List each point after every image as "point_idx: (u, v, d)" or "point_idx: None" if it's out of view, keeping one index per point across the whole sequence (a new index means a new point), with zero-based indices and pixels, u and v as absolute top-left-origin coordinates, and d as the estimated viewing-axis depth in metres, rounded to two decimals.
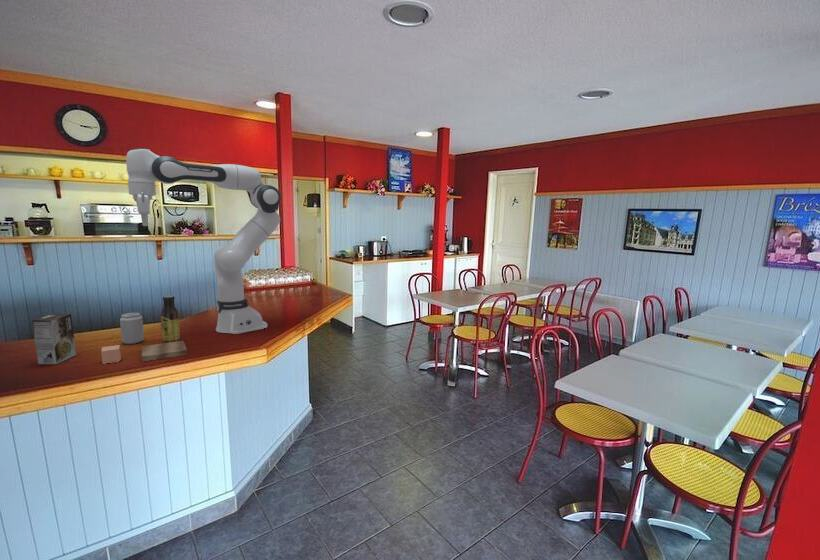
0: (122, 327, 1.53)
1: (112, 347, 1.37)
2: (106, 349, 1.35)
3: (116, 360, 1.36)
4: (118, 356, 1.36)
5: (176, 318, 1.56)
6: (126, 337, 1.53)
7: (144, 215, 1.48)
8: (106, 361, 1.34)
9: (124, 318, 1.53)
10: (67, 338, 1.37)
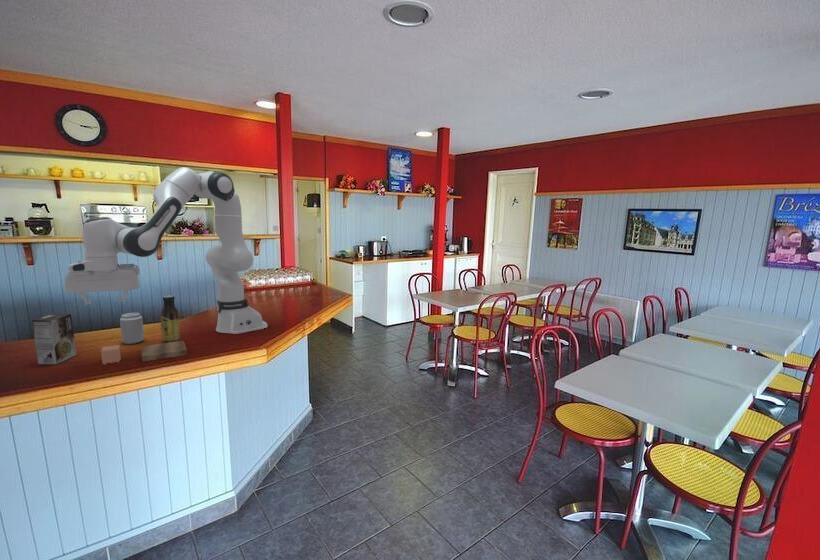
0: (122, 327, 1.53)
1: (112, 347, 1.37)
2: (106, 349, 1.35)
3: (116, 360, 1.36)
4: (118, 356, 1.36)
5: (176, 318, 1.56)
6: (126, 337, 1.53)
7: (127, 290, 1.37)
8: (106, 361, 1.34)
9: (124, 318, 1.53)
10: (67, 338, 1.37)
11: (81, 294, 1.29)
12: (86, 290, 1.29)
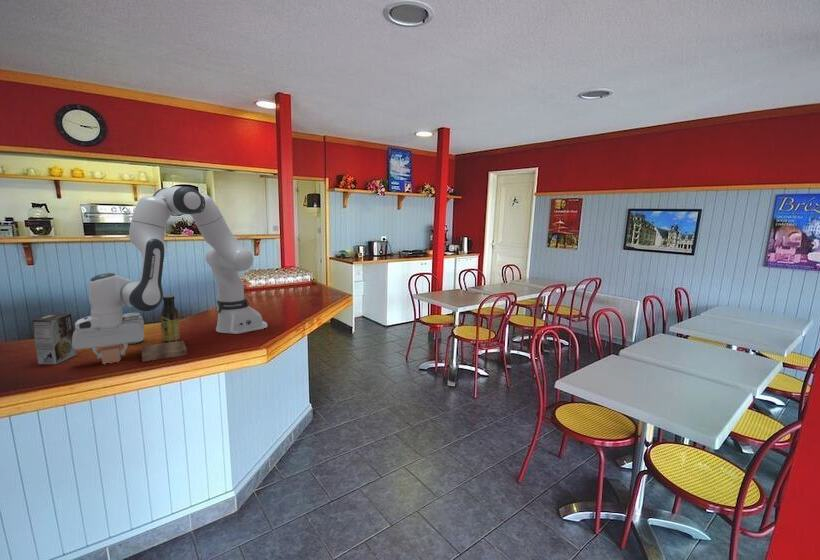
0: None
1: (112, 347, 1.37)
2: (106, 348, 1.35)
3: (116, 360, 1.36)
4: (118, 356, 1.36)
5: (176, 318, 1.56)
6: None
7: (127, 343, 1.39)
8: (106, 361, 1.34)
9: None
10: (67, 338, 1.37)
11: (93, 349, 1.33)
12: (93, 346, 1.32)
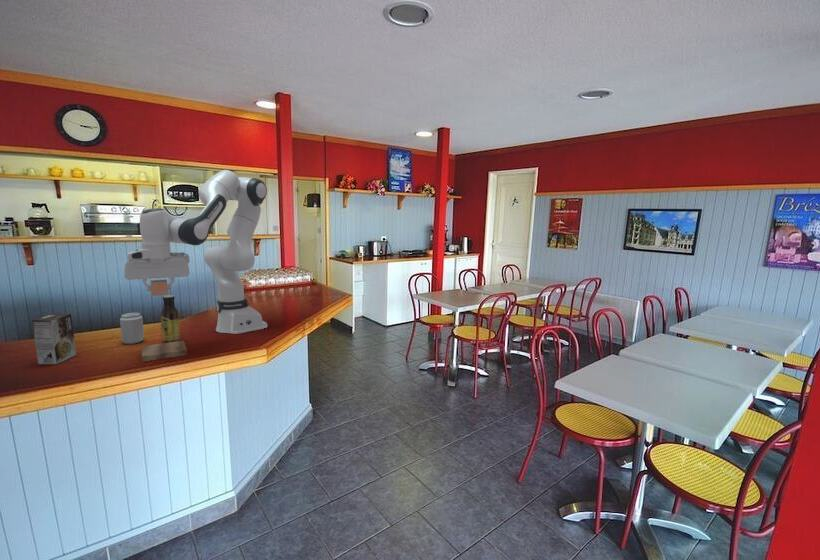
0: (122, 327, 1.53)
1: (160, 280, 1.42)
2: (155, 281, 1.41)
3: (164, 292, 1.41)
4: (166, 288, 1.41)
5: (176, 318, 1.56)
6: (126, 337, 1.53)
7: None
8: (155, 292, 1.40)
9: (124, 318, 1.53)
10: (67, 338, 1.37)
11: (143, 280, 1.38)
12: (143, 277, 1.37)
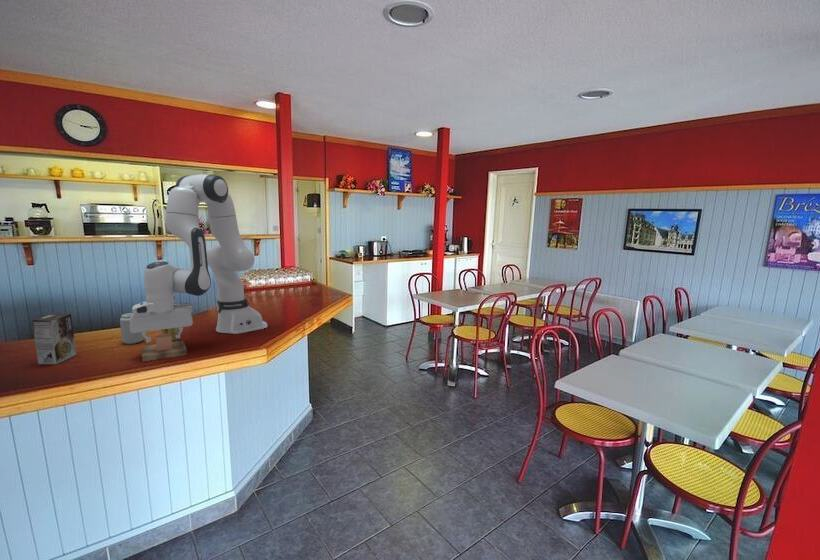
0: (122, 327, 1.53)
1: (164, 335, 1.45)
2: (160, 336, 1.44)
3: (168, 347, 1.45)
4: (170, 343, 1.45)
5: None
6: (126, 337, 1.53)
7: (182, 327, 1.49)
8: (160, 348, 1.43)
9: (124, 318, 1.53)
10: (67, 338, 1.37)
11: (143, 333, 1.41)
12: (147, 329, 1.41)
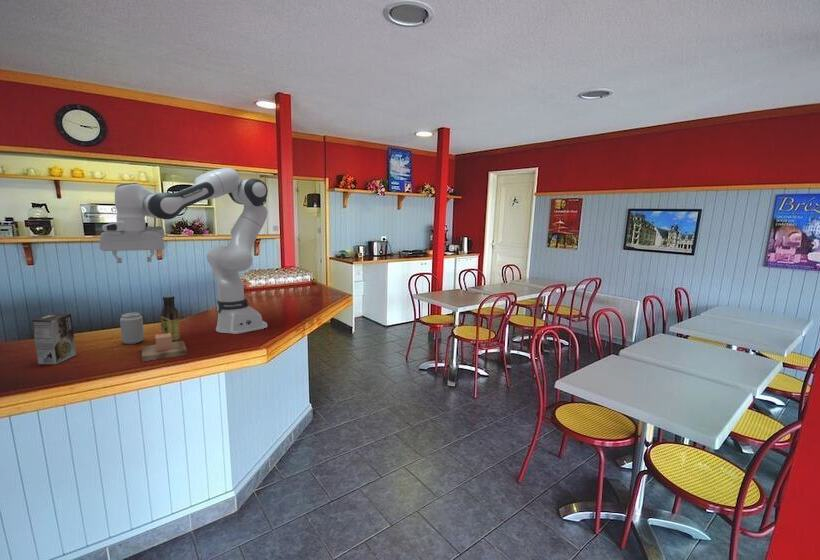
0: (122, 327, 1.53)
1: (164, 335, 1.45)
2: (160, 336, 1.44)
3: (168, 347, 1.45)
4: (170, 343, 1.45)
5: (176, 318, 1.56)
6: (126, 337, 1.53)
7: None
8: (160, 348, 1.43)
9: (124, 318, 1.53)
10: (67, 338, 1.37)
11: (113, 252, 1.42)
12: (118, 249, 1.42)
